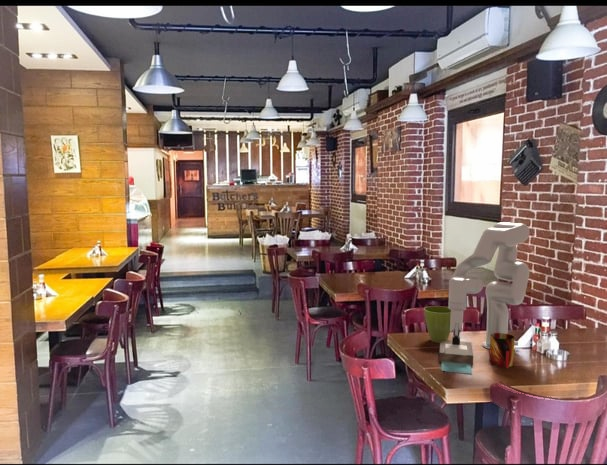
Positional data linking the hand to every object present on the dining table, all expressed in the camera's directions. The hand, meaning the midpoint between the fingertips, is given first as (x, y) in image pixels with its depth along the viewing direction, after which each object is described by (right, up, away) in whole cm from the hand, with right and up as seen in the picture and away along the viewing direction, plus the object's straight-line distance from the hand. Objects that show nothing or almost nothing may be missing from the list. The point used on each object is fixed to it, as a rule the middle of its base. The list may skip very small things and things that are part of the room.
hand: (455, 346), depth 222 cm
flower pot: (-1, -4, +27) cm, 27 cm away
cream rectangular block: (-1, -2, -4) cm, 5 cm away
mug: (+19, -7, -8) cm, 21 cm away
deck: (+1, -5, +3) cm, 6 cm away
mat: (-4, -6, -13) cm, 14 cm away
